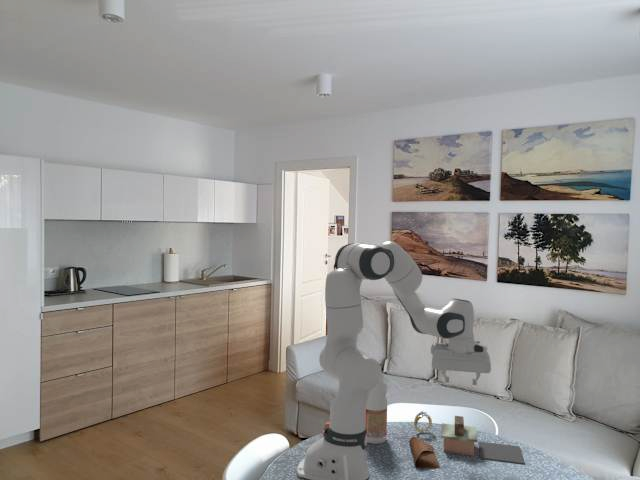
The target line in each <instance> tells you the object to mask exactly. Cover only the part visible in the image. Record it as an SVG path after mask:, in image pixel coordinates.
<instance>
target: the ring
mask: <svg viewBox="0 0 640 480" xmlns="http://www.w3.org/2000/svg"><path fill="white" fill-rule="evenodd" d="M423 417H426V418H427V420H428V425H427V426H426V428H425V429H419V428H418V422H419V420H420V419H422V418H423ZM432 420H433V419H432V417H431V416H430V415H429V414H428V413H427V411H425V412H424V411H419V412H418V413H417V414H416V416H415V418H414V421H413V426H414V429H415V430H416V431H418V433H422V434H424V433H427V432H428V431H429V430H430V429H431V427H432V425H433V424H432V423H433V421H432ZM423 432H424V433H423Z"/></svg>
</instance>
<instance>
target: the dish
mask: <svg viewBox="0 0 640 480" xmlns="http://www.w3.org/2000/svg"><path fill="white" fill-rule="evenodd" d="M443 452H444V453H452V454H459V455H460V454H461V455H467V456H468V455H469V456H475V442H471V441H463V440H454V439H446V438H443Z"/></svg>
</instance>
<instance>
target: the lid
mask: <svg viewBox="0 0 640 480" xmlns="http://www.w3.org/2000/svg"><path fill="white" fill-rule="evenodd" d="M464 422H465V420H464V416H461V415H460V416H459V415H454V424H451V423H441V432H440V438H441V439H444V438H446V439H454V440H463V441H471V442H474V443H478V434H477V433H478V432H477V427H476V426H469V425H465V423H464Z"/></svg>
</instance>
